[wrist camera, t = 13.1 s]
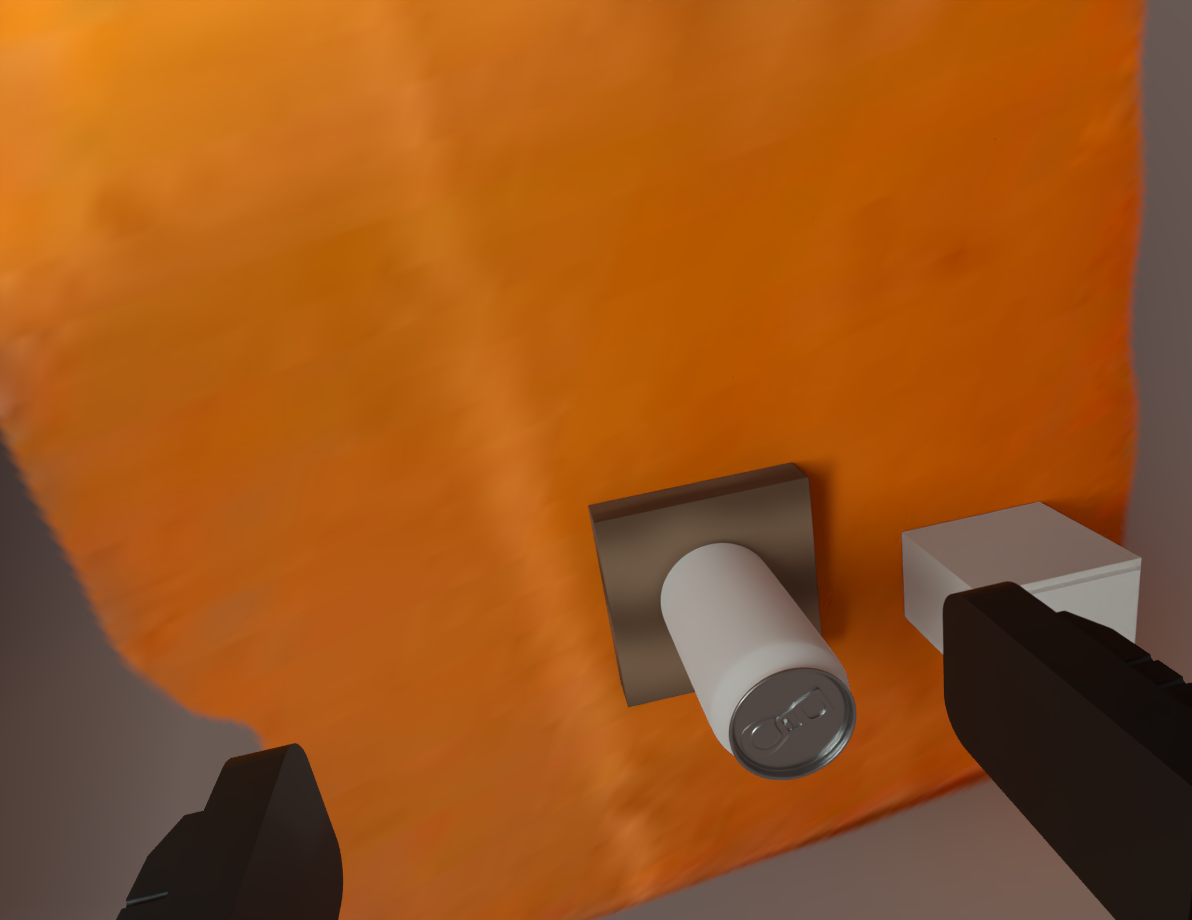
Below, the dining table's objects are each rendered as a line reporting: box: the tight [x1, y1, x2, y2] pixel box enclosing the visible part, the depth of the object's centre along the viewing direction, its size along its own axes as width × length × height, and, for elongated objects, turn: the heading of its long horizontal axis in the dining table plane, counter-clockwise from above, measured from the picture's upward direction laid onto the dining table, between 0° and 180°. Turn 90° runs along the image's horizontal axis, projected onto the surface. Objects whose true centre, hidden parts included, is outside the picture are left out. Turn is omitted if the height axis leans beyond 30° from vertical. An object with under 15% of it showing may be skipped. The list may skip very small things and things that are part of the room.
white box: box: [902, 502, 1141, 654], centre depth 46 cm, size 6×9×8 cm, turn 100°
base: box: [588, 463, 821, 707], centre depth 46 cm, size 12×12×2 cm
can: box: [661, 543, 856, 780], centre depth 39 cm, size 6×6×12 cm
